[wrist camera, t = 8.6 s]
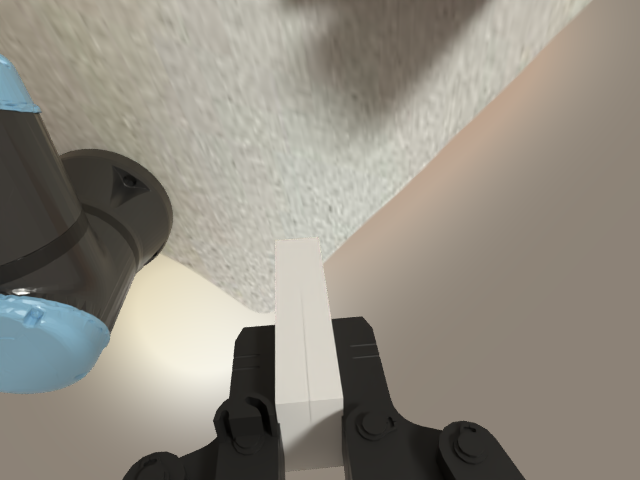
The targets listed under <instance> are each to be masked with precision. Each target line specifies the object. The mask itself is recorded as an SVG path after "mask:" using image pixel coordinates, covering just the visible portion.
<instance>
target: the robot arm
mask: <svg viewBox="0 0 640 480" xmlns="http://www.w3.org/2000/svg"><path fill="white" fill-rule="evenodd" d="M39 113H41V110H40V108H39V107H38V106H37V105H35V104H34V103H33V101H32V99H31V97H30V95H29V93H28V91H27V89H26V88H25V86H24V84H23V82H22V80H21V78H20V76H19V74H18V72H17V71H16V69H15V67H14V66H13V64H12V63H11V62H10V61H9V60H8V59H7V58H6V57H4V56H3V55H1V54H0V392H5V393H15V394H34V393H44V392H50V391H55V390H58V389H62V388H65V387H67V386H70V385H72V384H74V383H75V382H77V381H79V380H81V379H82V378H83V377H85V376H86V375H87V373H88V372H90V370H91V369H92V368H93V367H94V365H95V363H96V361H97V359H98V357H99V355H100V354H101V352H102V350H103V349H104V348H105V347H106V346H107V345H108V343H109V340H110V334H111V331H112V329H113V326H114V324H115V321H116V319H117V317H118V314H119V312H120V309H121V307H122V305H123V302H124V300H125V298H126V295H127V293H128V291H129V288H130V286H131V284H132V281H133V279H134V276H135V274H136V273H137V272H138V271H140V270H141V269H142V268H143V266H145V265H147V264H148V263H149V262H151V261H152V260H153V259H154V258H155V257H156V256H158V254H159V253H160V252H161V251H162V249H163V248H164V246H165V244H166V242H167V240H168V237H169V234H170V231H171V228H172V223H173V212H172V206H171V203H170V200H169V197H168V195H167V193H166V191H165V190H164V188H163V187H162V185H161V184H160V182H159V181H158V180H157V179H156V178H155V177H154V176H153V175H152V174H151V173H150V172H149V171H148V170H147V169H145V168H144V167H143V166H141V165H140V164H138V163H137V162H135V161H133V160H131V159H129V158H127V157H125V156H122V155H120V154H117V153H114V152H110V151H105V150H98V149H82V150H75V151H71V152H68V153H65V154H62V155H60V156H59V155H58V153H57V150H56V148H55V146H54V144H53V142H52V140H51V137H50V135H49V133H48V131H47V129H46V127H45V124H44V122H43V120H42V118H41V116H40V114H39ZM213 422H214V426H215V430H216V433H217V438H216V439H214V440H213V441H212V442H211V443H210V444H208V445H207V446H205V447H203V448H201V449H199V450H197V451H194V452H192V453H190V454H187V455H185V456H182V457H180V458H178V457H177V455H174V454H172V453H169V452H155V453H152V454H150V455H147V456H145V457H143V458H141V459H140V460H139V461H138V462H136V463H135V464H134V465H133V466H132V467H131V468H130V469H129V471H128V472H127V473H126V475H125V476H124V478H123V480H285V472H289V471H299V470H309V469H319V468H328V467H338V466H344V471H345V480H525V478H524V477H523V476H522V474H521V473H520V471H519V470H518V469H517V467H516V466H515V465H514V463H513V462H512V460H511V459H510V458H509V456H508V455H507V453H506V452H505V451H504V450H503V448H502V447H501V445H500V444H499V442H498V441H497V440H496V438H495V437H494V436H493V435H492V434H490V432H489V431H488V430H487V429H485V428H483V427H481V426H480V425H478V424H476V423H472V422H467V421H458V422H452V423H451V424H449V425H448V426H446V427H444V429H443V431H442V430H437V429H433V428H428V427H423V426H420V425H417V424H414V423H412V422H410V421H408V420H406V419H405V418H403V417H402V416H401V415H400V414H399V413H398V412H397V410H396V409H395V408H394V406H393V404H392V401H391V398H390V394H389V390H388V387H387V383H386V379H385V375H384V371H383V367H382V363H381V359H380V357H379V352H378V348H377V345H376V340H375V336H374V333H373V329H372V327H371V326H370V325H369V324H368V323H367V321H366V320H365V319H364V318H363V317H350V318H339V319H331V315H330V308H329V302H328V295H327V288H326V282H325V275H324V269H323V262H322V256H321V249H320V243H319V237H311V238H298V239H284V240H275V325H269V326H256V327H245V328H243V329H242V331H241V333H240V334H239V336H238V338H237V339H236V341H235V347H234V359H233V367H232V377H231V386H230V396H229V399H227V400H226V401H224V402H223V403H222V405H221V406H220V407H219V408H218V410H217V411H216V414H215V417H214V420H213Z"/></svg>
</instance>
